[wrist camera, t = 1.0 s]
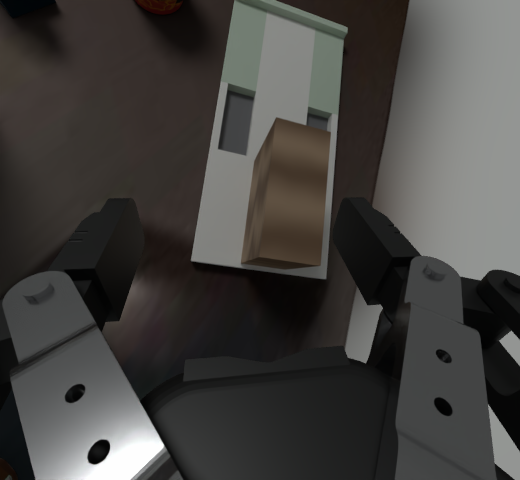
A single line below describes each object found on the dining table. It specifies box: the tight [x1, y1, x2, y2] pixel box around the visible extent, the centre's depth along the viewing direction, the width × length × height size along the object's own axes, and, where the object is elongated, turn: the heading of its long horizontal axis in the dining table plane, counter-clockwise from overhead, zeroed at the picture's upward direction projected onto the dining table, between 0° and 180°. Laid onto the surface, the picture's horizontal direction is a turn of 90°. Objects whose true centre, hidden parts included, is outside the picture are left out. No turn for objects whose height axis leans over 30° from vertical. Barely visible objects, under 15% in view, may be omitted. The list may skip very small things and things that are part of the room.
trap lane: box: [191, 0, 348, 279], centre depth 37 cm, size 40×18×2 cm, turn 173°
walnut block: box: [241, 117, 331, 270], centre depth 30 cm, size 14×6×10 cm, turn 173°
